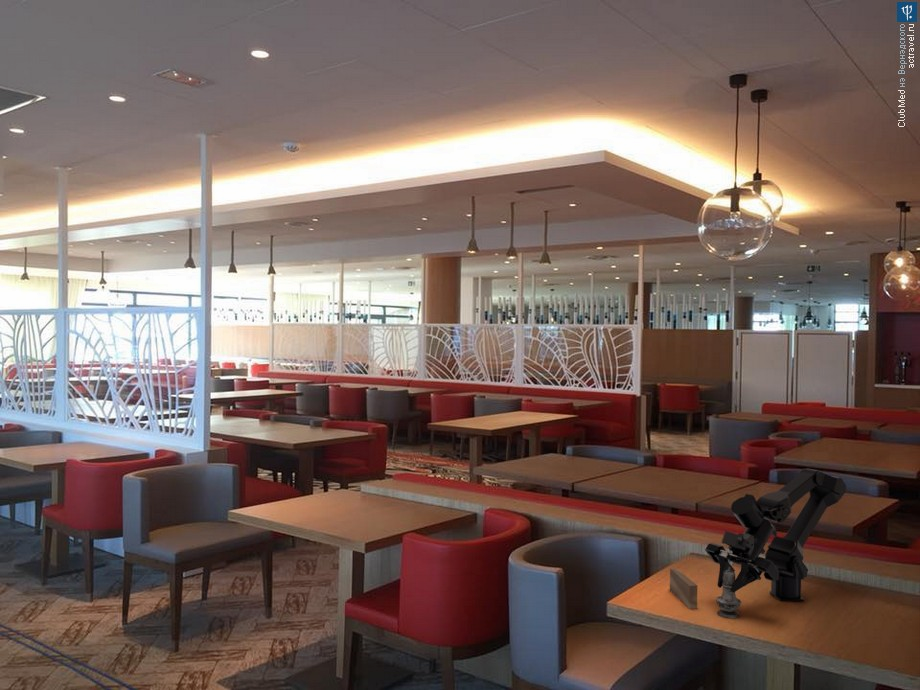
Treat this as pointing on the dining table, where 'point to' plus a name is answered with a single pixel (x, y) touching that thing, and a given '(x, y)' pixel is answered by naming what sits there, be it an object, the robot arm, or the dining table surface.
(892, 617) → the dining table surface
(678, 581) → the walnut board
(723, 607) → the salt shaker
